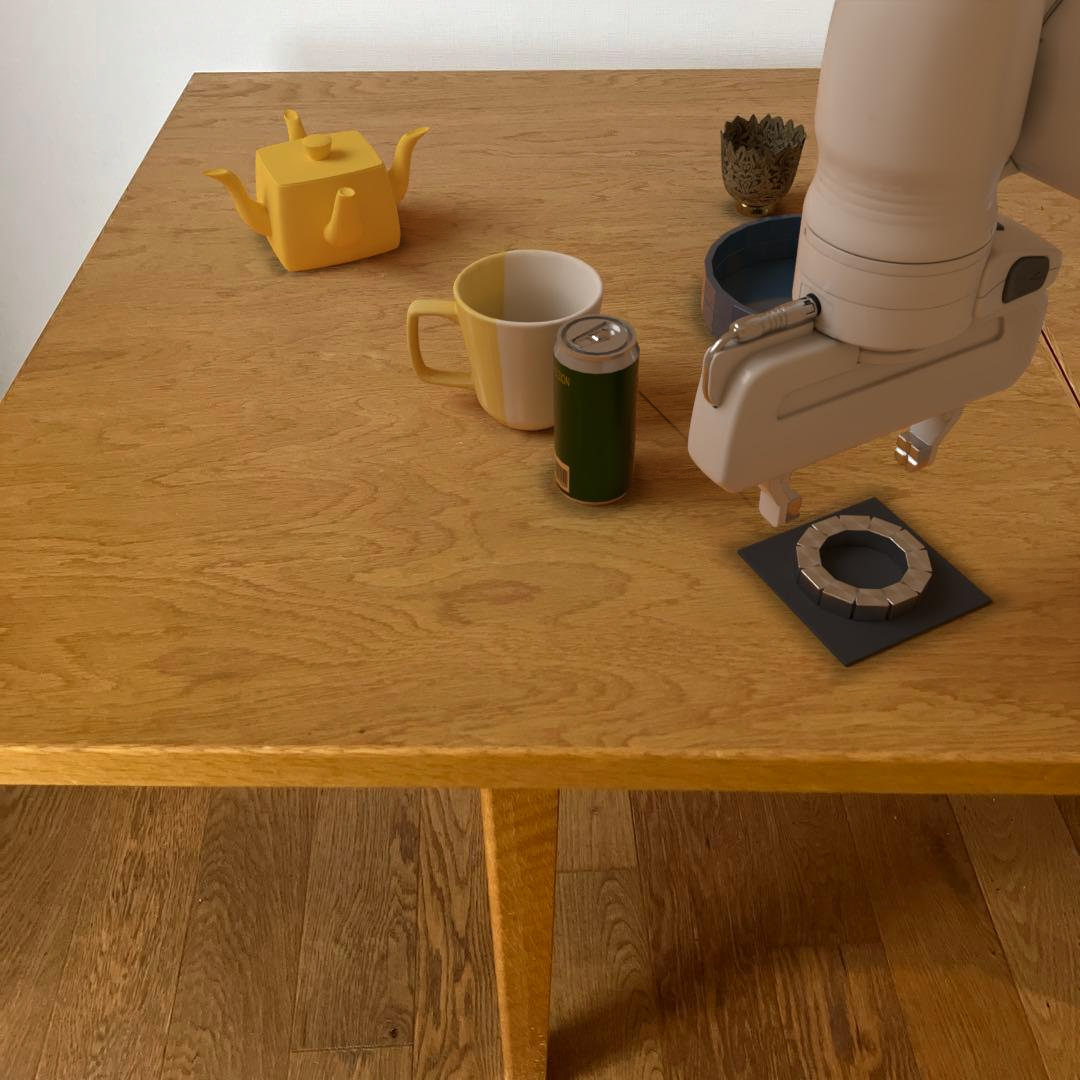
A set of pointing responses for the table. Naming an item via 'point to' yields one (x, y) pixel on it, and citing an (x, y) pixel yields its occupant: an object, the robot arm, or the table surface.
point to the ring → (859, 600)
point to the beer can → (595, 408)
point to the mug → (510, 329)
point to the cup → (760, 162)
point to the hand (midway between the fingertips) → (847, 489)
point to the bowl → (749, 270)
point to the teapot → (324, 196)
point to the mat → (866, 571)
